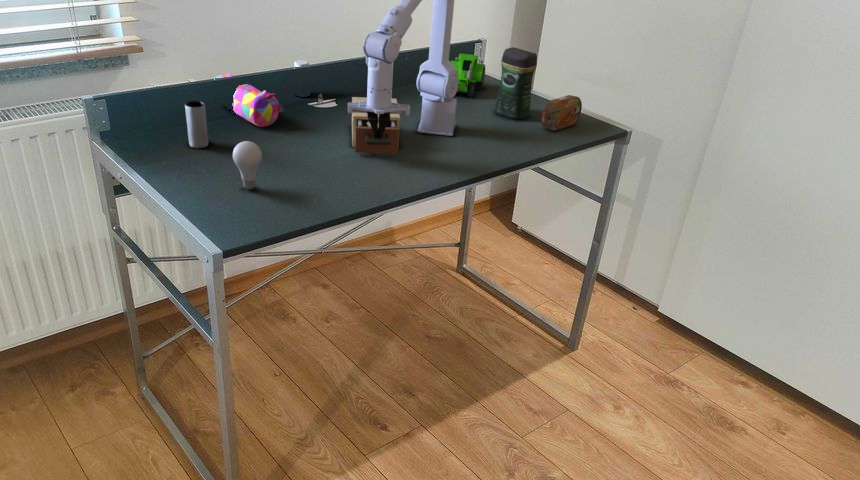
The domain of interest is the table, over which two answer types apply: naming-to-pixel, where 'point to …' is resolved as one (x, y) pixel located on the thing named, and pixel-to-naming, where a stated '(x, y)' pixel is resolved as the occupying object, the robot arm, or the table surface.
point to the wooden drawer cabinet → (364, 116)
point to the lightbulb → (247, 162)
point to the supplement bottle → (301, 63)
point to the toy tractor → (469, 73)
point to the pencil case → (255, 104)
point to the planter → (196, 124)
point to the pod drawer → (371, 145)
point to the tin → (561, 112)
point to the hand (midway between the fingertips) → (377, 141)
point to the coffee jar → (516, 83)
